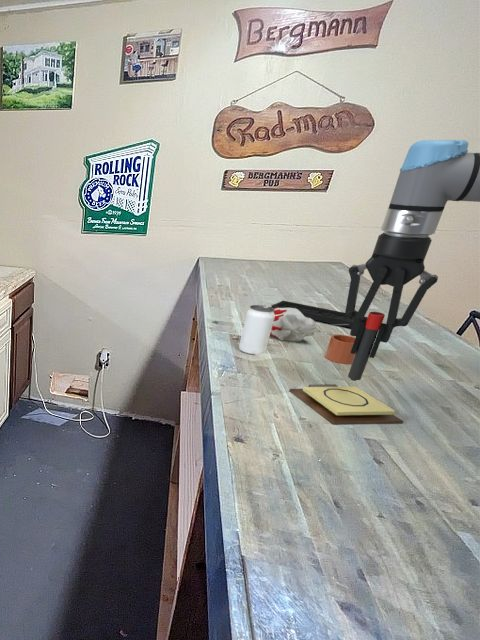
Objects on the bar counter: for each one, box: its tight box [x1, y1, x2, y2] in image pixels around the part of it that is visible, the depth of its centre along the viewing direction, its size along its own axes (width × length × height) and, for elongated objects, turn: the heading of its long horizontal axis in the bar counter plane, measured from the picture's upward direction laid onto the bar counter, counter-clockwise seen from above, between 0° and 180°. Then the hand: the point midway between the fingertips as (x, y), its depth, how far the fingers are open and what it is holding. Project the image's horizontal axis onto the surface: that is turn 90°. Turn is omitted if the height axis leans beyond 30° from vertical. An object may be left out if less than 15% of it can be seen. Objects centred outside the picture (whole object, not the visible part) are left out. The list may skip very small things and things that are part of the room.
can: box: [238, 304, 275, 356], centre depth 120 cm, size 6×6×12 cm
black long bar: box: [270, 300, 368, 329], centre depth 146 cm, size 26×3×30 cm
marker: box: [347, 311, 386, 382], centre depth 91 cm, size 2×2×14 cm
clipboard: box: [289, 383, 404, 425], centre depth 95 cm, size 14×14×2 cm
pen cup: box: [324, 334, 356, 365], centre depth 116 cm, size 6×6×6 cm
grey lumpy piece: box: [270, 307, 317, 343], centre depth 131 cm, size 9×11×15 cm
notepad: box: [302, 386, 396, 415], centre depth 94 cm, size 11×12×1 cm
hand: (362, 353), depth 92 cm, fingers closed on marker, 2 cm apart
